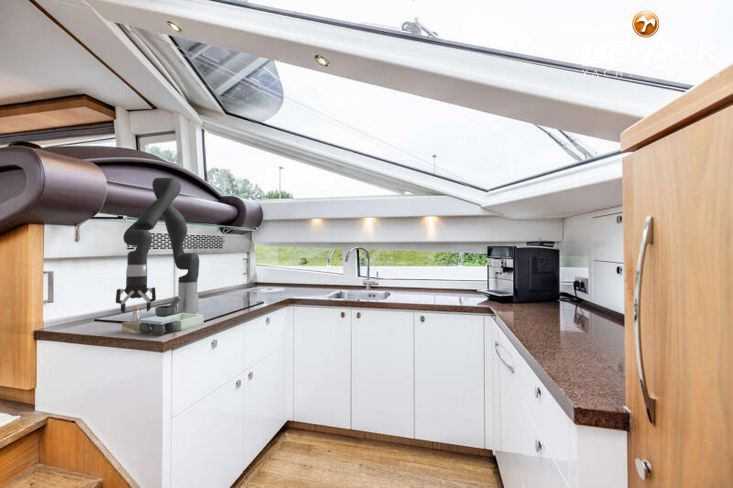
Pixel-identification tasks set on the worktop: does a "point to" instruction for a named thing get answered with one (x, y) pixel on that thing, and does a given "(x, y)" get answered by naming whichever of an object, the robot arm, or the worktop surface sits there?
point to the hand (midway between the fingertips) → (135, 311)
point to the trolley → (157, 325)
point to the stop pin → (136, 314)
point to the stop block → (131, 327)
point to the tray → (187, 321)
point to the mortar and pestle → (168, 308)
